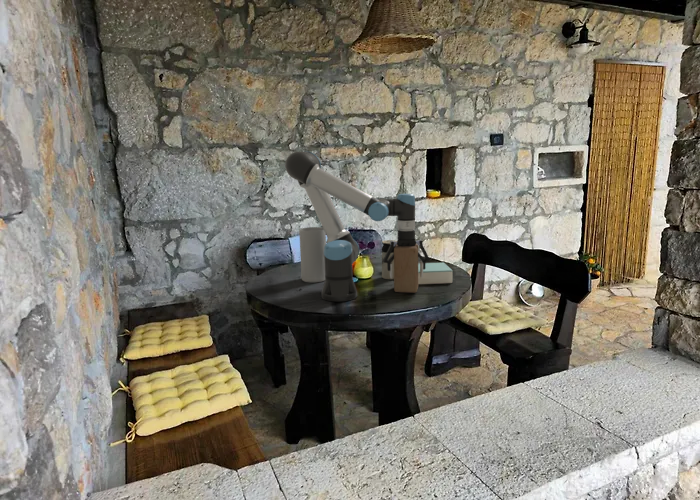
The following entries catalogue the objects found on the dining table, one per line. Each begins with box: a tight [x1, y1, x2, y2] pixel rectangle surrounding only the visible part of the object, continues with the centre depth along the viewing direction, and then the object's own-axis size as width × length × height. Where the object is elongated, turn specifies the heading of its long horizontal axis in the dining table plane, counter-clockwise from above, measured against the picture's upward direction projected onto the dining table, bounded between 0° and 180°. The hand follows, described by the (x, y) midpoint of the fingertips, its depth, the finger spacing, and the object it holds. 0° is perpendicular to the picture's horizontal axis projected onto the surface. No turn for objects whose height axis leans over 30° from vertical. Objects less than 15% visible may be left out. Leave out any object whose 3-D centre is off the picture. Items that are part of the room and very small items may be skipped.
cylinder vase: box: [298, 226, 327, 284], centre depth 227 cm, size 12×12×25 cm
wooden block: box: [393, 243, 419, 294], centre depth 206 cm, size 10×10×20 cm
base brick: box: [418, 262, 454, 285], centre depth 224 cm, size 16×16×6 cm
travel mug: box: [381, 239, 397, 280], centre depth 228 cm, size 8×8×18 cm
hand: (406, 277), depth 207 cm, fingers open, 13 cm apart
